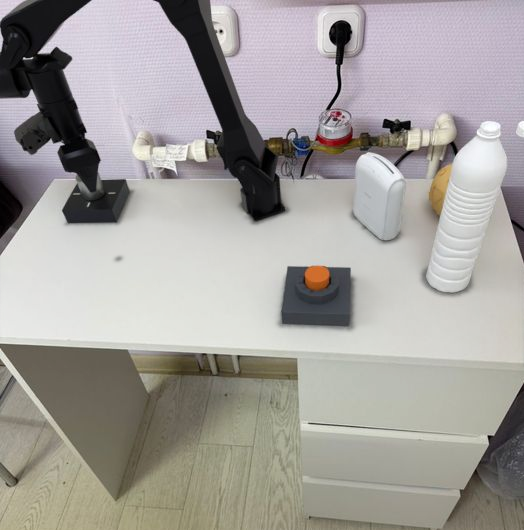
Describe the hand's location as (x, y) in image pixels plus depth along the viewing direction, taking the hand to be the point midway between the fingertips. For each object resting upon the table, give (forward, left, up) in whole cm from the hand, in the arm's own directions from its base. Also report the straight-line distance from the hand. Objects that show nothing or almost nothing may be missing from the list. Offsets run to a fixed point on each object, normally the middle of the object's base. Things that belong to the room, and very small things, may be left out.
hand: (88, 179), depth 94 cm
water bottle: (-46, +51, -6) cm, 69 cm away
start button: (-25, +44, -2) cm, 51 cm away
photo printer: (-43, +33, -6) cm, 54 cm away
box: (-25, +44, -6) cm, 51 cm away
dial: (0, 0, -3) cm, 3 cm away
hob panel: (0, 0, -6) cm, 6 cm away
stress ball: (-56, +38, -6) cm, 68 cm away
